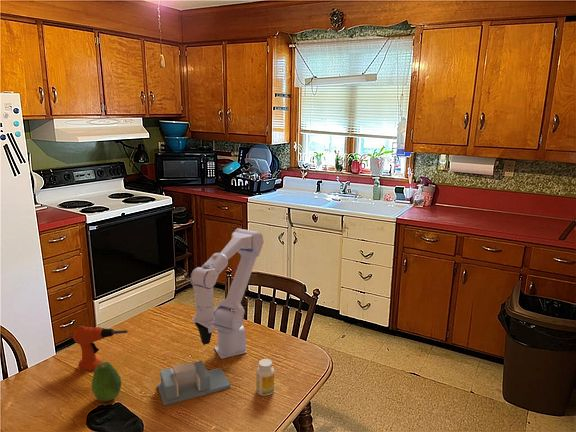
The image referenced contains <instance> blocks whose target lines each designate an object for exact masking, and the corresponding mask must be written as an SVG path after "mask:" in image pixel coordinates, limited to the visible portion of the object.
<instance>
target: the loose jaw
mask: <svg viewBox="0 0 576 432" xmlns="http://www.w3.org/2000/svg"><path fill="white" fill-rule="evenodd" d="M193 363H194V365H195V367H196V378H197V387H198V389H199V391H204V390H208V389H210V375H209V373H208V371H209V370H208V369H207V368H206V366H205V364H204V362H203V361H202V360H199V361H193Z"/></svg>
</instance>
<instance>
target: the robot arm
mask: <svg viewBox="0 0 576 432" xmlns="http://www.w3.org/2000/svg"><path fill="white" fill-rule="evenodd" d="M230 238H231V239H230V240H229V241H228V243H227V244H226V245H225V246H224V247H223V249H222V250H221V251H220V252H215V253H213V254H212V255H211V256H210V258H208V259H207V261H205V262H204V263H203V264H202V265H201V267H200V266H197V267H196V268H194V269H193V270H192V272H191V274H190V278H189V282H190V284H191V285H192V289H193V291H194V304H195V305H194V306H195V316H194V317H192V319H191V321H192V323H194V325H195V326H196V328H197V330H198V333H199V337H200V341H201V344H202V345H203V346H205V345H209V344H211V339H212V335H213V333H215V332H217V346H216V345H215V346H214V350H215V351H216V354H217V355H218V357H219V359H227V358H230V357H231V358H232V357H235V356H239V355H242V354H246V353H247V352H248V351H247V337H246V336H247V335H246V334H247V333H246V328H245V327H244V325H243V324H244V316H245V313H246V311H245V309H244V307H243V305H242V303H241V302H242V300H243V298H244V295H245V292H246V290H247V289H246V288H247V287H248V283H249V280H250V277H251V274H252V271H253V268H254V266H255V263H256V260H257V258H258V257H259V256H260V253H261V251H262V248H263V245H264V242H265V241H264V235H263V233H262V232H261V231H255V230H249V229H242V228H241V227H240V228H239V227H238V228H236V229H235V230H234V231H233V232H232V233H231V237H230ZM236 253H238V254H240V259H239V263H238V265H237V269H236V271H235V273H234V277H233V279H232V281H231V284H230V287H229V289H228V292H227V296H226V297H225V298H224V299H223V300H221V301H219V302H218V303H217V305H216V307H214V286H215V285H216V283H217V280H218V278H219V275H220V274H221V273H222V272H223V271H224V270H225V269H226V267H228V264H229V262H228V261H229V260H230V259H231V258H232V257H233V256H235V254H236ZM216 329H217V331H216Z"/></svg>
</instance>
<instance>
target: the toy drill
mask: <svg viewBox="0 0 576 432" xmlns="http://www.w3.org/2000/svg"><path fill="white" fill-rule="evenodd" d="M127 333H128V330H127V329H124V330H123V329H122V330H119V329H118V330H114V329H112V328H105V327H101V326H94V327H93V326H84V325H80V326H79V327H78V328H77V329H76V330H74V332H73V335H72V338H73V341H74V342H75V343H76V344H77V345H80V346H79V347H80V348H81V359H80V360H79V361H78V369H79V370H81V371H86V372H88V371H89V372H94V371H95V368H96V367H97V366H98V365H99V364H100V363H102V362H104V361H103V360H100V359H98V358H97V356H96V354H97V353H98V352H99V350H100V349H99V348H98V347H97V345H96V343H94V342H97V341H101V340H102V339H104V340H105V338H109V337H113V336H114V335H118V334H127Z"/></svg>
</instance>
